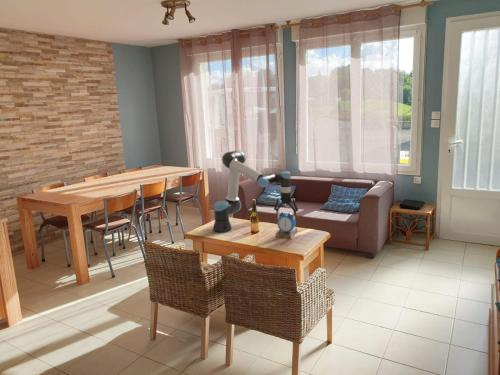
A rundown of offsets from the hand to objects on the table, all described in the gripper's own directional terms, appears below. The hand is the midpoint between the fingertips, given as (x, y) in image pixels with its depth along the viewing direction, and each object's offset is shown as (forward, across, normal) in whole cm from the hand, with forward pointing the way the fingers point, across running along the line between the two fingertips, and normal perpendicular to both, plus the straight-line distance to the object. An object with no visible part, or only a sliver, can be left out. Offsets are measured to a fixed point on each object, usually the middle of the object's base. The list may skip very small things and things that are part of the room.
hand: (286, 219), depth 313 cm
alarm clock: (+10, 0, 0) cm, 10 cm away
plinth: (+13, 0, 0) cm, 13 cm away
